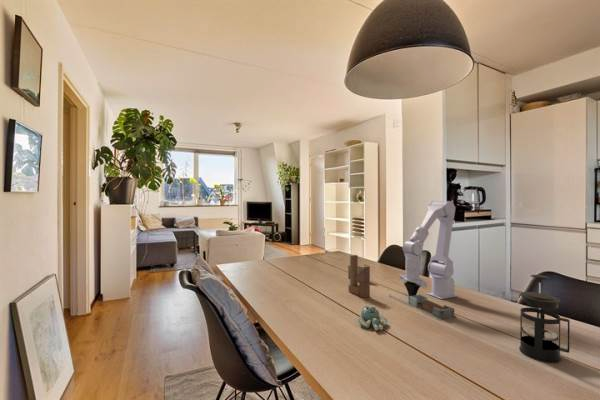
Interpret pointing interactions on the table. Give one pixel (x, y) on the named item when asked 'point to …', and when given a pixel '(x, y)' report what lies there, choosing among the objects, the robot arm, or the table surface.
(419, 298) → the cap
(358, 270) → the architectural model on board
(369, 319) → the stuffed animal
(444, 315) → the grey c-shaped bracket
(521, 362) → the table surface
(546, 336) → the french press
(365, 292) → the wooden block
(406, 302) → the track
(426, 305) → the brown bar
